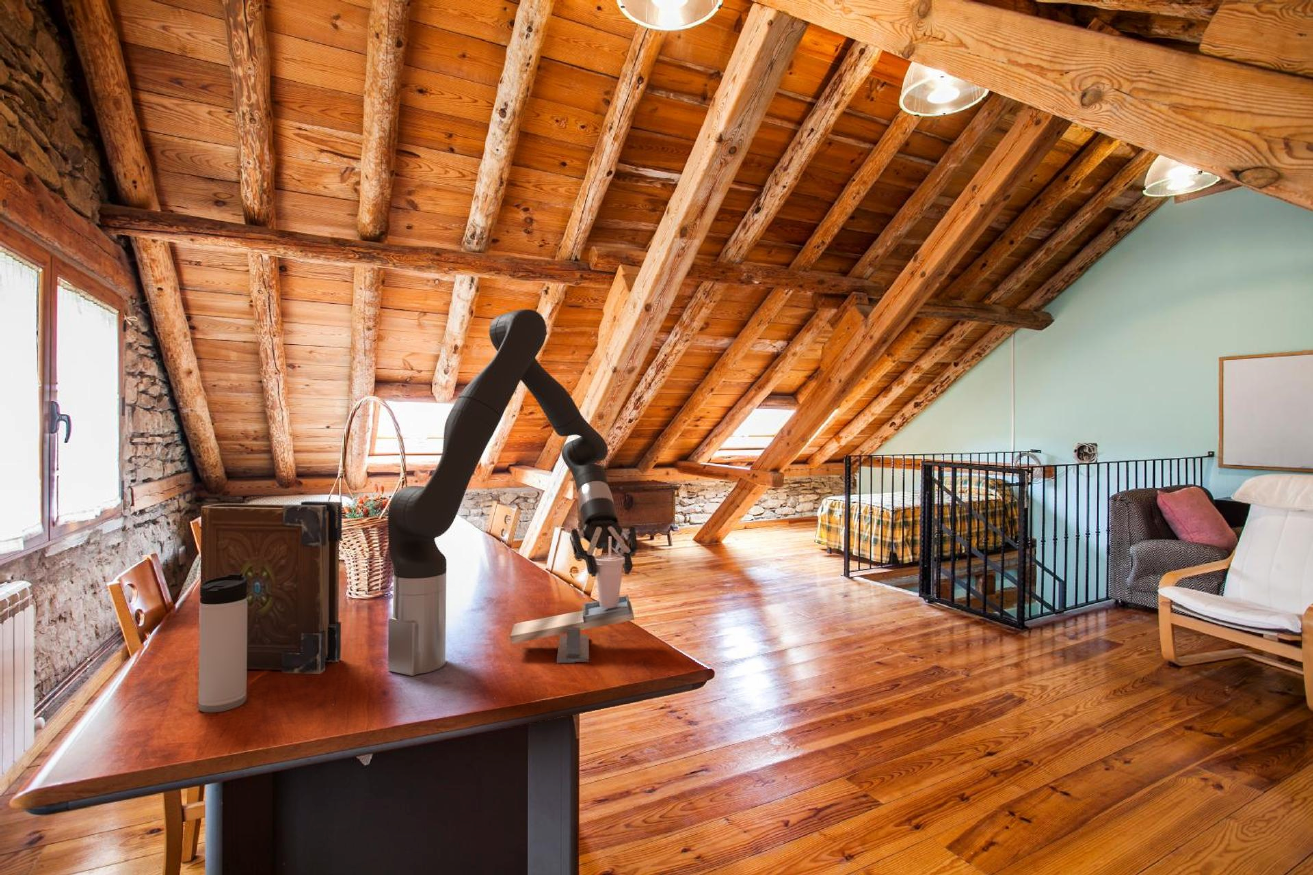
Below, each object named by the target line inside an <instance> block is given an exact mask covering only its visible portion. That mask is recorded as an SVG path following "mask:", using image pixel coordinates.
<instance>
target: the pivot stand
mask: <svg viewBox="0 0 1313 875" xmlns="http://www.w3.org/2000/svg"><path fill="white" fill-rule="evenodd" d="M570 613H573V612H570ZM589 637H590V636H589V634H581V630H580V627H579V628H567V633H566V634H565V635H564V634H562V635H559V639H558V640H559V642H558V648H557V657H556V664H576V663H575V662H587V663H590V650H589V648H590V646H589V645H590V644H589V641H590V640H589Z"/></svg>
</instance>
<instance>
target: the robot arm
mask: <svg viewBox="0 0 1313 875" xmlns="http://www.w3.org/2000/svg"><path fill="white" fill-rule="evenodd" d="M488 332H489V339H490V342H491V343H492V346H493V347H494V349H495V350H496V351H497V352H496V354H495V355H494V357H493V358H492V359H491V360H490V362H489V363H488V364H487V365H486V366H485V367H484V368H482V370H480V372H479V373H477V374H476V376H474V377H473V378H472V380H471V381H470V382H468V384H467V385H466V386H465V387H464V389H463V390H462V391H461V393H460V394H459V395H458V397H457V399H456V400H455V403H454V404H453V405H452V408H451V410H450V411H449V414H448V416H447V418H446V421H445V423H444V430H443V440H442V441H443V443H442V445H443V446H442V453H441V457H440V459H439V462H438V464H437V465H436V467H435V470H434V471H433V473H432V475H431V477H430V479H429V480H427V481H428V482H427V483H426V484H425V486H422V485H421V486H420V485H409V486H408V485H407V486H405V487H402V488H401V489H399V490H398V491H397V492H395V494H394V495H393V497H392V498H391V500H390V503H389V506H388V512H387V513H388V514H387V536H388V537H387V538H388V539H387V540H388V553H389V559H390V561H391V563H392V568H393V578H392V579H393V585H392V586H393V587H392V590H393V592H392V617H390V618H389V619H388V625H387V627H388V631H387V632H388V636H387V642H388V643H387V644H388V645H387V651H388V652H387V670H388V671H389V672H394V673H397V674H402V675H407V676H410V677H414V676H416V675H419V674H426V673H431V672H434V671H436V670H438V669H441V668H442V667H444V666H445V664H446V654H447V653H446V648H447V647H446V645H447V644H446V643H447V642H446V639H447V638H446V637H447V636H446V635H447V634H446V633H447V632H446V630H447V620H446V619H447V616H446V615H447V558H446V556H445V555H444V554H443V552H441V550H440V549H439V547H438V545H437V544H436V538H439V537H441V536H442V535H444V534H446V532H447V531H448V530H449V529H450V528H451V527H452V524H453V523H454V521H455V519H456V516H457V515H458V513H459V510H460V507H461V504H462V502H463V499H464V496H465V493H466V491H467V489H468V486H469V484H470V482H471V479H472V477H473V474H474V472H475V471H476V469H477V467H478V466H479V465H478V464H479V462H480V460H481V458H482V456H483V454H484V452H485V450H486V448H487V447H488V444H489V443H490V441H491V439H492V437H493V436H494V433H495V431H496V429H497V428H498V425H499V424H500V423H501V420H502V418H503V415H504V413H505V412H506V410H507V407H508V405H509V404H510V402H511V400H512V398H513V396H514V394H515V392H516V390H517V388H518V386H519V384H520V382H522V384H524V385H525V387H526V388H527V390H528V391H529V393H531V395H532V397H533V398H534V399H535V400H536V402H537V403H538V404H539V406H540V408H541V410H542V411H543V414H544V415H545V416H546V419H547V420H548V422H549V424H550V425H551V426H552V429H553V430H554V432H555V433H556V434H557V435H558V436H559V437H569V436H570V437H571V436H579V437H578V438H575V439H573V440H571V441H568V442H567V443H566V444H564V446H563V447H562V449H561V457H562V460H563V462H564V464H565V465H566V467H567V468H568V469H569V471H570V473H571V475H572V477H573V479H574V482H575V487H576V491H577V492H576V493H577V503H578V510H579V514H580V517H581V524H582V528H583V529H582V530H581V529H580V530H577V528H573V529H571V532H570V535H569V540H570V541H569V542H570V544H571V547H572V551H573V553H574V557H575V559H576V560H578V561H579V560H583V561H584V562H585V564H586V570H587V573H588V574H589V575H591V576H590V577H592V578H593V577H597V576H596V574H597V567H596V562H595V558H594V557H595V555H594V553H595V550H596V549H597V550H602V549H608V550H609V536H611V550H613V551H614V552H615V553H616V554H617V555H620V556H623V557H625V563H624V564H623V571H624V575H630V573H631V571H632V569H633V566H634V565H633V561H632V557H635V556H636V552H637V551H638V549H639V546H638V540H637V533H636V527H634V526H629V528H623V527H622V526H621V525H620V523H619V519H618V516H617V511H616V506H615V501H614V498H613V494H612V491H611V489H610V487H609V486H610V485H609V483H608V479H607V474H606V471H605V469H604V468H603V466H601V465H600V464H597V463H599V462H601V461H603V460H605V458H607V456H608V451H609V450H608V444H607V443H606V440H605V439H604V437H603V436H602V435H601V433H598V431H597V430H596V429H595V428H594V427H592V426H591V425H590V424H589V423H588V421H587V420H586V419H585V418H584V416H583V415H582V414H581V412H580V410H579V409H578V407H577V404H576V403H575V401H574V399H573V398H572V396H571V395H570V392H568V391H567V389H566V388H565V387H564V386H563V385H562V384H561V383H560V382H559V381H557V379H555V378H554V377H553V376H552V375H551V374H550V373H549V372H548V371H546V369H545V368H544V367H543V366H542V365H541V364H540V362H539V361H538V360H537V358H536V357H537V355H538V354H539V353H540V351H541V350H542V348H543V346H544V343H545V341H546V337H547V324H546V321H545V319H544V316H543V315H541V314H540V313H539V311H536V310H534V309H530V308H527V309H524V308H523V309H517V310H513V311H510V312H505V313H503V314H499V315H498V316H496V317H495V318H493V319H492V321H491V323H490V325H489V330H488ZM621 536H623V537H624V538H625V540H627V545H626V543H625V541H624V538H622V537H621ZM583 538H584V540H586V541H587V542H588V543H589V546H588V549H587V550H586V549H584V548H583V544H582V539H583Z"/></svg>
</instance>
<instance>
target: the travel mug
mask: <svg viewBox="0 0 1313 875" xmlns="http://www.w3.org/2000/svg"><path fill="white" fill-rule="evenodd" d="M246 591H247V578H246V577H244V576H243V574H229V576H224V577H218V578H214V579H211V580H208V581H205V582H204V583H202V584H201V583H200V586H199V601H198V602H199V608H198V609H199V612H198V613H199V616H198V617H199V620H198V622H199V623H198V706H197V707H198V710H199V711H200V712H203V713H209V714H213V713H222V712H226V711H231V710H234V709H236V708H238V707H240V706H242V705H244V703H246V701H247V681H248V679H247V678H248V677H247V674H248V671H247V670H248V669H247V592H246Z"/></svg>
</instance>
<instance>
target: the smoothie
mask: <svg viewBox="0 0 1313 875" xmlns="http://www.w3.org/2000/svg"><path fill="white" fill-rule="evenodd" d="M594 558H595V562H596V567H597V574H596V576H595V577H596V584H597V585H596V586H597V591H598V592H597V593H598V601H599V603H600V606H601V607H604V608H613V607H617V606H618V602H619V597H620V592H621V585H622V576H623V571H624V567H623V564H624V563H625V557H623V556H620V555H619V554H612V548H611V536H609V549H608V554H600V555H596V556H594Z"/></svg>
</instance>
